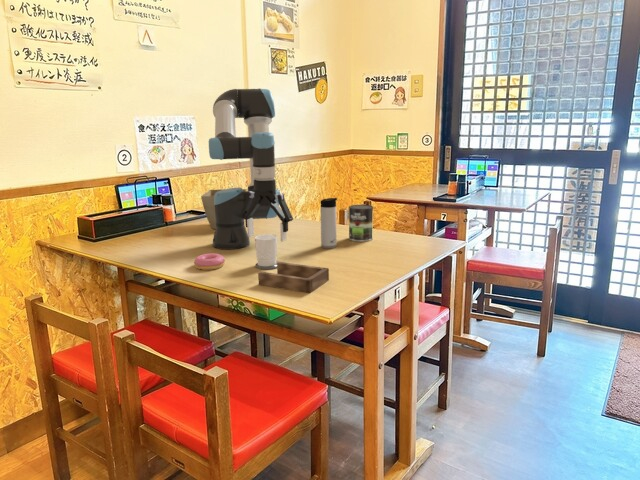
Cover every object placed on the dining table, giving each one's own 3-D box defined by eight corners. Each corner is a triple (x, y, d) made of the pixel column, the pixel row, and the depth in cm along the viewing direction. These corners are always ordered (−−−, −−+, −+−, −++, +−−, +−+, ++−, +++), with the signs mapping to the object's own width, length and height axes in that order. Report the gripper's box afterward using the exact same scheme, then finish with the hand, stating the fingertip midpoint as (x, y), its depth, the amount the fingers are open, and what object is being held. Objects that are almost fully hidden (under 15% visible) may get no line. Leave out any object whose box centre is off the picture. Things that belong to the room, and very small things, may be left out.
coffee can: (369, 242, 205) (369, 209, 201) (345, 240, 209) (345, 208, 205) (375, 237, 214) (376, 205, 210) (353, 235, 218) (353, 203, 214)
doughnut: (195, 273, 170) (194, 261, 169) (193, 264, 180) (192, 253, 179) (226, 269, 173) (226, 258, 172) (223, 261, 183) (223, 250, 182)
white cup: (256, 261, 179) (255, 234, 177) (278, 260, 180) (277, 233, 177) (255, 267, 172) (254, 240, 169) (278, 266, 172) (277, 239, 170)
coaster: (250, 267, 174) (250, 266, 174) (264, 261, 182) (264, 259, 181) (272, 270, 170) (272, 269, 170) (285, 263, 178) (285, 262, 177)
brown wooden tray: (258, 284, 156) (258, 272, 155) (279, 273, 167) (279, 261, 166) (310, 293, 148) (310, 280, 147) (328, 280, 159) (328, 268, 158)
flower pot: (243, 230, 230) (241, 195, 226) (203, 231, 230) (200, 195, 226) (249, 222, 248) (247, 188, 244) (212, 222, 249) (209, 189, 245)
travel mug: (336, 249, 196) (335, 199, 191) (319, 248, 197) (318, 199, 192) (338, 245, 202) (338, 196, 197) (322, 244, 203) (322, 196, 198)
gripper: (228, 178, 170) (231, 237, 176) (290, 182, 159) (292, 245, 165) (240, 175, 177) (243, 232, 182) (301, 179, 166) (303, 239, 172)
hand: (267, 238), depth 174 cm, fingers open, 13 cm apart
